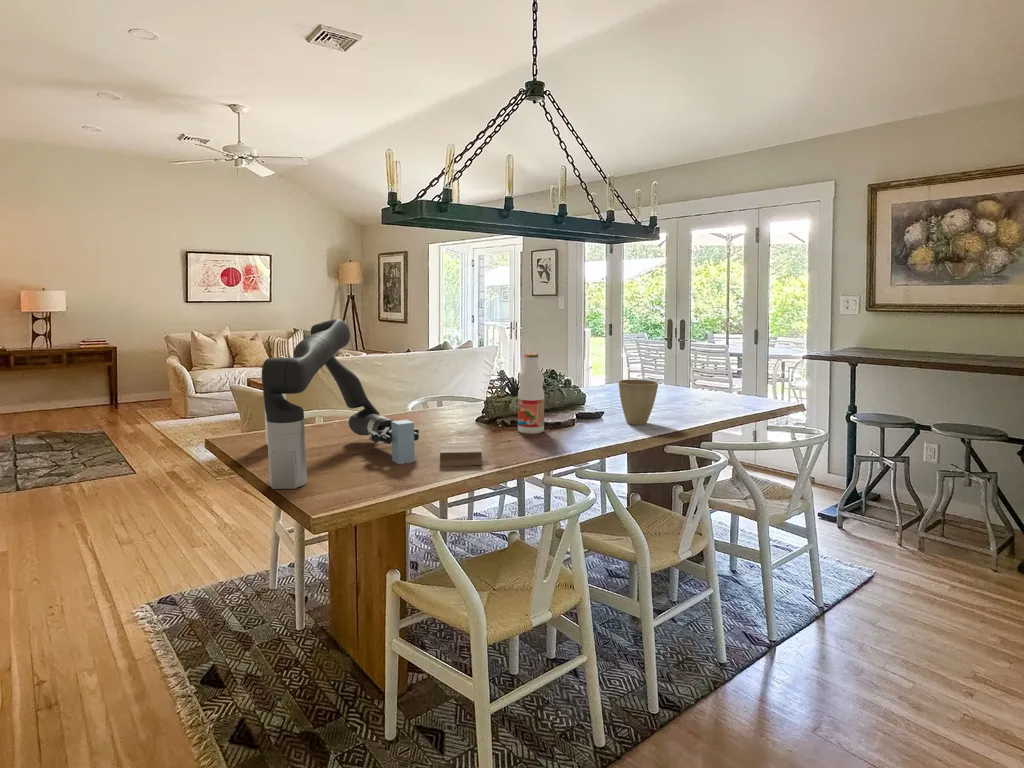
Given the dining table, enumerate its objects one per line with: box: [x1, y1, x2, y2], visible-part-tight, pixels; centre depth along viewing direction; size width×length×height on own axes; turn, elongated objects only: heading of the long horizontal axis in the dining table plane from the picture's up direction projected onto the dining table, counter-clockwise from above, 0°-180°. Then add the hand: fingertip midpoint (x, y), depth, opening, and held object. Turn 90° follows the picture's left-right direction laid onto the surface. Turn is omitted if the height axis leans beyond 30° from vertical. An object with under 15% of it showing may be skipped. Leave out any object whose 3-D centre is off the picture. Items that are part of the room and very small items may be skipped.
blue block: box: [391, 419, 416, 465], centre depth 195 cm, size 5×5×12 cm
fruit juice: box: [517, 352, 545, 435], centre depth 236 cm, size 9×9×28 cm
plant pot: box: [618, 379, 659, 426], centre depth 252 cm, size 15×15×16 cm
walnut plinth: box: [439, 442, 483, 467], centre depth 197 cm, size 12×12×4 cm
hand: (403, 438), depth 195 cm, fingers open, 8 cm apart
